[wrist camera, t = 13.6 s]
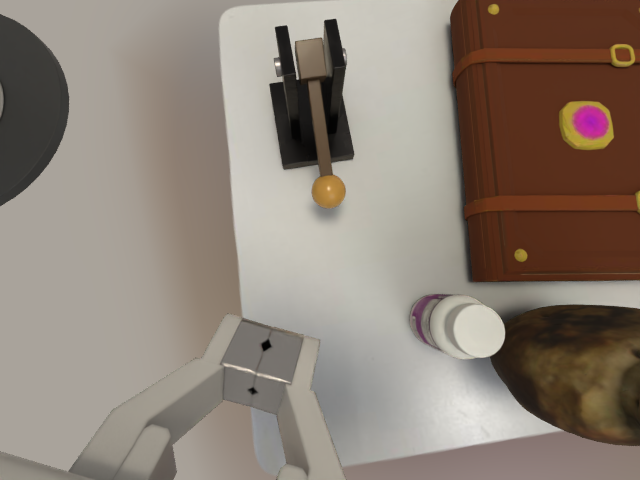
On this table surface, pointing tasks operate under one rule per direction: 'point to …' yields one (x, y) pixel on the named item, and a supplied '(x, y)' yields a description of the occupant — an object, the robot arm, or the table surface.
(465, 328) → the pill bottle
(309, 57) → the lever
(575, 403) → the brown lumpy potato
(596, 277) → the book
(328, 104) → the black lever stand
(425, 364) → the table surface
